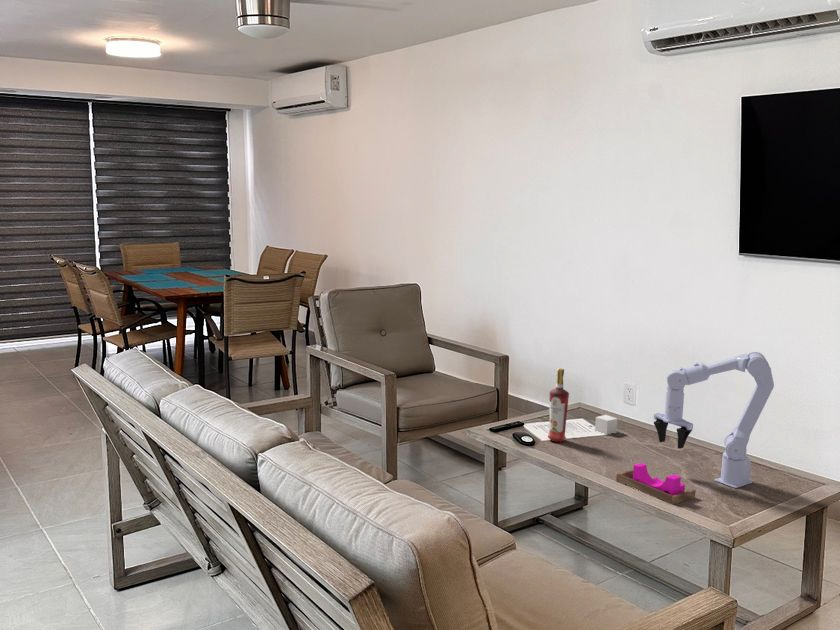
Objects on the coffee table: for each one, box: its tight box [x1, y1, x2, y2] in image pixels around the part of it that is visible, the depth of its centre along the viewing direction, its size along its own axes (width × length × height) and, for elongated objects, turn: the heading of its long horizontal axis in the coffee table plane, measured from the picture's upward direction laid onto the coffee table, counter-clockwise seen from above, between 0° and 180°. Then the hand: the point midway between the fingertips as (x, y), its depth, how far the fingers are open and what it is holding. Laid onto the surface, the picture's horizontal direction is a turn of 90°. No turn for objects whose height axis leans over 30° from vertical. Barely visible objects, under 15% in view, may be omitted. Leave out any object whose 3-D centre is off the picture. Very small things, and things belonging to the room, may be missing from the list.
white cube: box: [594, 414, 618, 436], centre depth 306 cm, size 6×6×6 cm
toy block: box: [632, 462, 686, 496], centre depth 244 cm, size 15×6×8 cm, turn 37°
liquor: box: [547, 368, 570, 443], centre depth 292 cm, size 7×7×28 cm
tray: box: [615, 468, 697, 505], centre depth 247 cm, size 11×23×2 cm, turn 34°
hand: (671, 444), depth 259 cm, fingers open, 7 cm apart
